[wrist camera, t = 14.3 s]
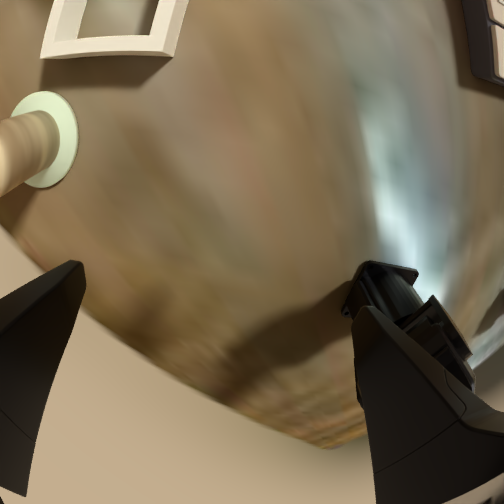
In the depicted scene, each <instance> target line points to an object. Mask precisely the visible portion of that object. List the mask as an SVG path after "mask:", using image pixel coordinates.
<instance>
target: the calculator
mask: <svg viewBox="0 0 504 504" xmlns="http://www.w3.org/2000/svg"><path fill="white" fill-rule="evenodd" d="M462 5H463V11H464V17H465V23H466V29H467V36H468V43H469V52H470V62H471V72H472V74H473V75H474V76H476V77H479V78H482V79H484V80H487V81H490V82H493V83H495V84H498V85H501V86H503V87H504V0H462Z"/></svg>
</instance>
